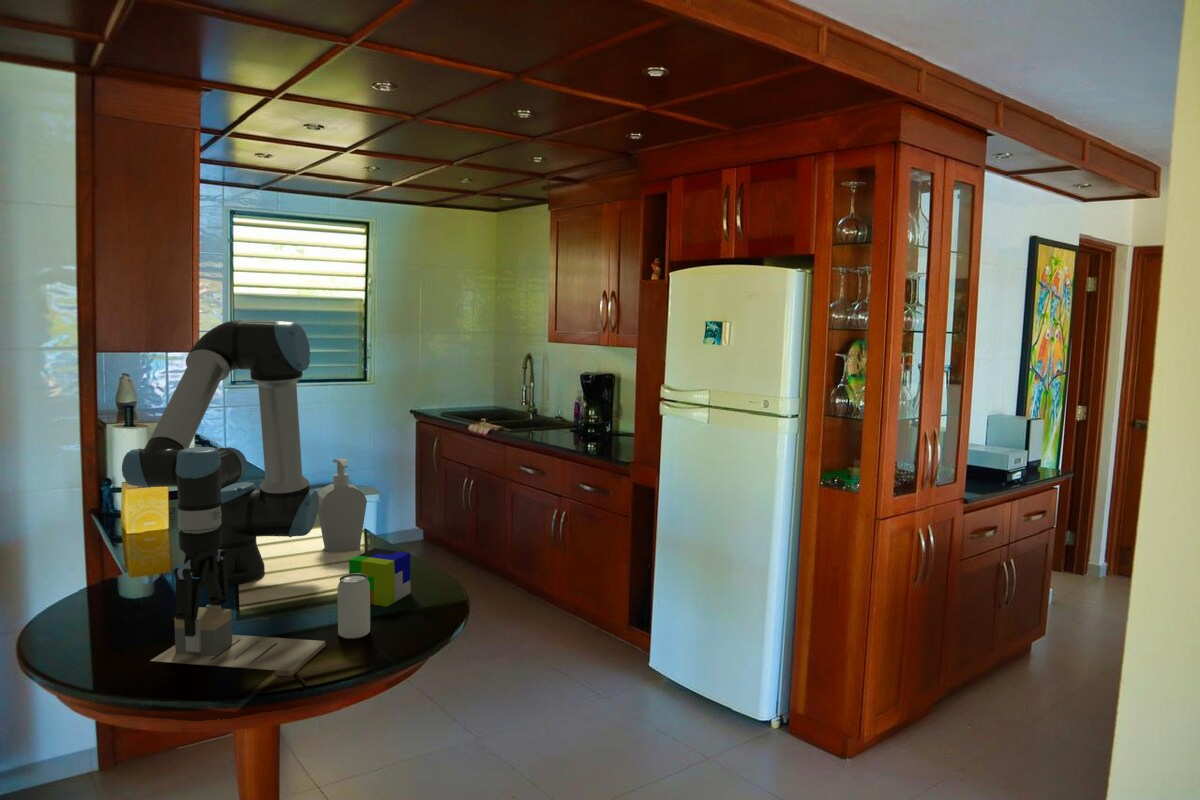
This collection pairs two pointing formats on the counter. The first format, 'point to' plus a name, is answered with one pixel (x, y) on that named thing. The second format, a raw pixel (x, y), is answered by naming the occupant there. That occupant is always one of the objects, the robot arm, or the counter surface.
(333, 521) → the soap bottle
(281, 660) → the board
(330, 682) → the counter surface
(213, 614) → the block
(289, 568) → the counter surface
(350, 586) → the can
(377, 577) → the puzzle toy
